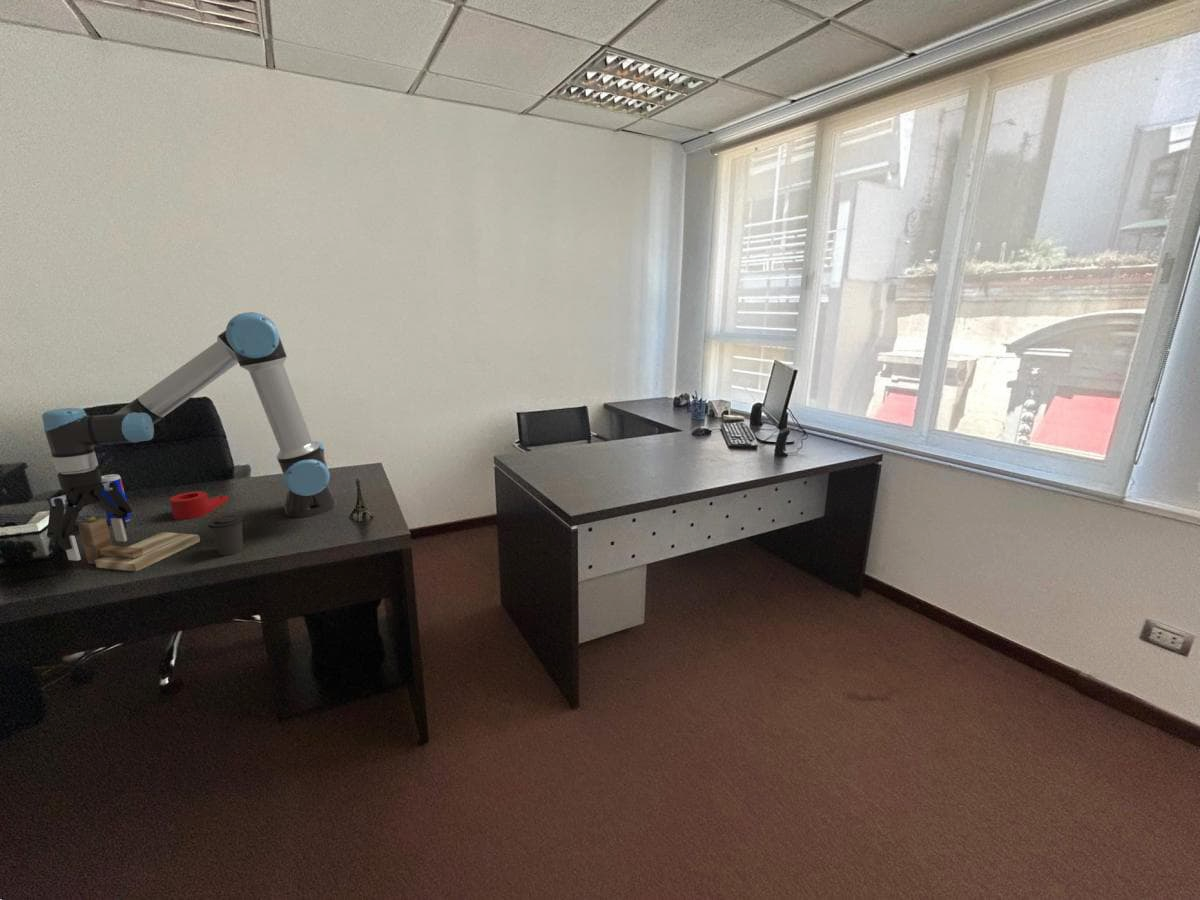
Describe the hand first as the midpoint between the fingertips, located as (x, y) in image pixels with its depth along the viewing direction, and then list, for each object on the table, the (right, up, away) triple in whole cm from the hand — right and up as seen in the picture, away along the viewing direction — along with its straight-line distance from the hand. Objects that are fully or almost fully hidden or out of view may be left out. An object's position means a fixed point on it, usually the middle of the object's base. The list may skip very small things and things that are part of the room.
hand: (99, 549), depth 132 cm
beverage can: (-19, +4, +26) cm, 33 cm away
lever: (-1, +6, +36) cm, 37 cm away
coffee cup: (+29, -2, +8) cm, 30 cm away
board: (+9, -2, +6) cm, 11 cm away
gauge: (+5, -3, 0) cm, 6 cm away
